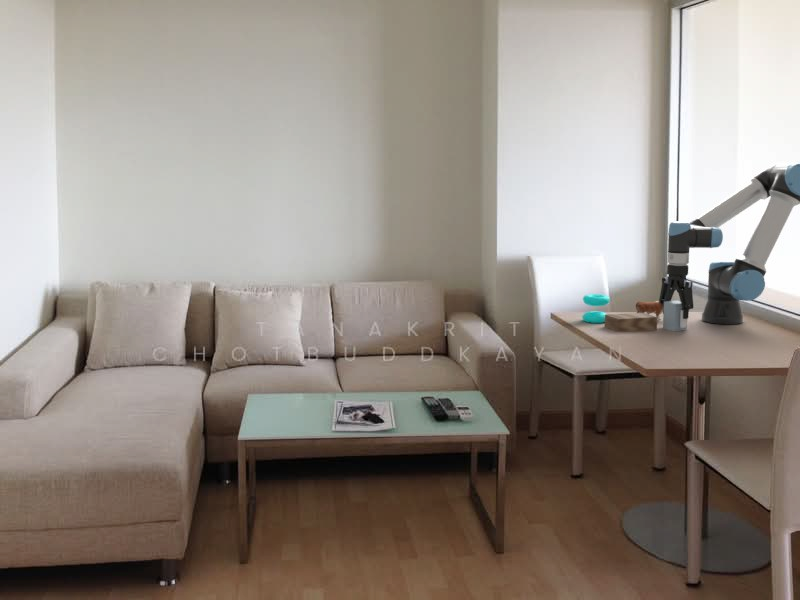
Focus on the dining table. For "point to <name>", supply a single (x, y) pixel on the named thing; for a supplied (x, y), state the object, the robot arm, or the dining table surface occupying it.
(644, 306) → the bull figurine
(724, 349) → the dining table surface
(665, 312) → the column
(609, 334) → the dining table surface
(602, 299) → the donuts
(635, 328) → the plinth
